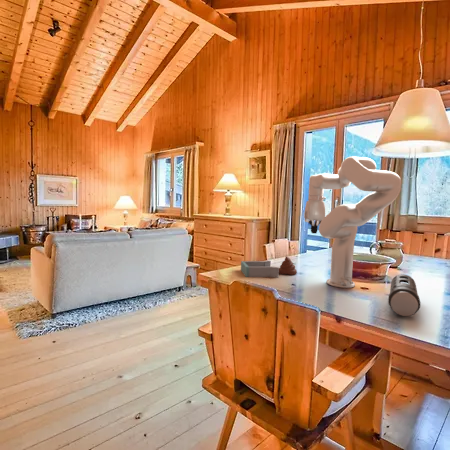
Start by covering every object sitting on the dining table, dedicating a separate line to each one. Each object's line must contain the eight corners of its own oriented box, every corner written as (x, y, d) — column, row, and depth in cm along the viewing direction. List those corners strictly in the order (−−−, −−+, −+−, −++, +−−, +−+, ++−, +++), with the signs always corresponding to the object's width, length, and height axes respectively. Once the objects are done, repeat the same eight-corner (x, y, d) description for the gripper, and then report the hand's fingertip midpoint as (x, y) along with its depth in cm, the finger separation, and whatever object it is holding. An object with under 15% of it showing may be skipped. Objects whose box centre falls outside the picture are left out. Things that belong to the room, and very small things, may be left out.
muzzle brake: (415, 300, 128) (417, 275, 127) (419, 323, 103) (422, 292, 103) (389, 296, 132) (391, 272, 132) (386, 317, 108) (389, 288, 107)
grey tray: (279, 277, 158) (279, 267, 158) (246, 277, 156) (246, 267, 156) (269, 269, 176) (269, 260, 176) (240, 269, 174) (240, 260, 174)
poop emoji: (277, 274, 165) (277, 257, 164) (278, 271, 173) (278, 254, 172) (296, 276, 162) (297, 258, 162) (296, 272, 171) (297, 255, 170)
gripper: (326, 199, 171) (324, 232, 172) (299, 198, 169) (298, 232, 171) (332, 199, 163) (330, 234, 165) (304, 198, 162) (303, 233, 163)
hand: (313, 233), depth 168 cm, fingers closed
